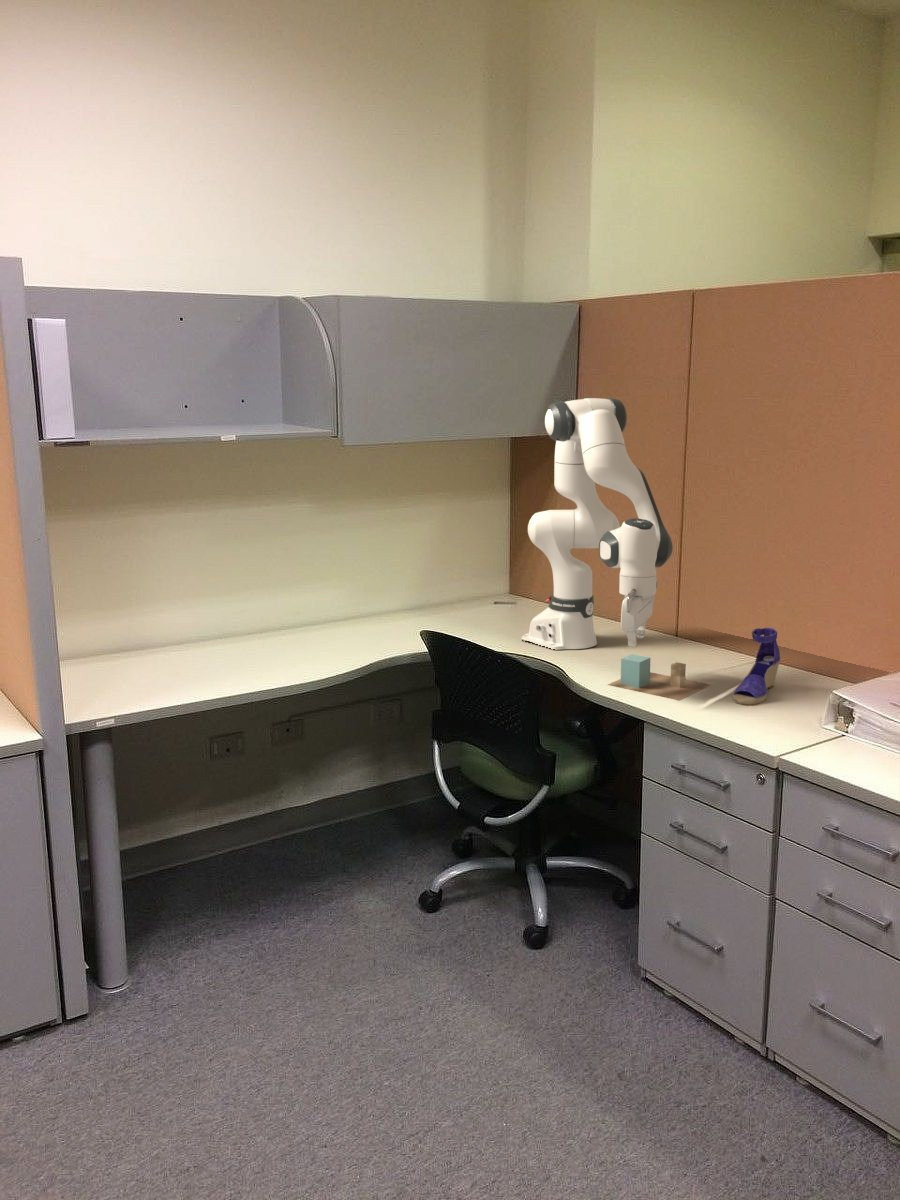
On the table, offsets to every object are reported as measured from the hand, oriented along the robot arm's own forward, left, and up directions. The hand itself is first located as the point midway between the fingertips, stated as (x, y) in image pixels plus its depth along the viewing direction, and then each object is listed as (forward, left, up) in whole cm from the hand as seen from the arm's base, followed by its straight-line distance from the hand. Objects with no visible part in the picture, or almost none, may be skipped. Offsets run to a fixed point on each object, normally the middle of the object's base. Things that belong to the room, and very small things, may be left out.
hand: (636, 641), depth 246 cm
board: (+5, +3, -12) cm, 13 cm away
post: (+9, +5, -12) cm, 16 cm away
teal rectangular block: (0, 0, -11) cm, 11 cm away
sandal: (+26, +13, -12) cm, 31 cm away
